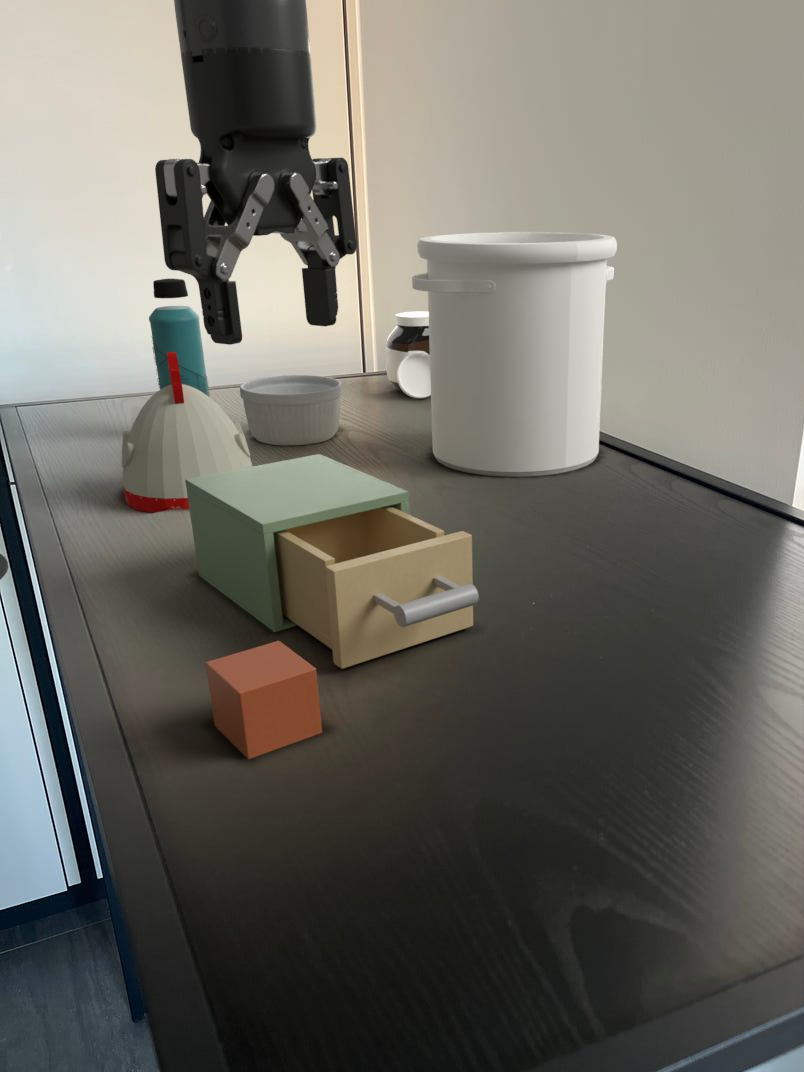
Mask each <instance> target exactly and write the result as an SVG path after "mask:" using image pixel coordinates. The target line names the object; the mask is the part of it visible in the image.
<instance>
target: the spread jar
mask: <svg viewBox="0 0 804 1072" xmlns="http://www.w3.org/2000/svg"><path fill="white" fill-rule="evenodd" d="M395 324H396V326H395V328H393V330H392V331H391V332H390V333H389V335H388V337H387V339H386V343H385V367H386V376H387V378H388V381H389V383H390V384H391V385H392V386H393V387H394V388H395V389H396V390H397V391H399V392H401V393H403V394H406V395H407V396H409V397H411V398H413V399H419V400H420V399H425V398H429V397H431V378H430V345H429V312H428V311H405V312H398V313H396V314H395Z"/></svg>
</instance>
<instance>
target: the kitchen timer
mask: <svg viewBox="0 0 804 1072" xmlns="http://www.w3.org/2000/svg"><path fill="white" fill-rule="evenodd" d="M167 359H168V367H169V374H170V380H171V385H169V386H166V387H164V388H162V389H161V390H160V389H158V391H156V392H155V393H154V394H153V395H152V396H150V397H149V399H147V400H146V402H145V403H144V404H143V406H142V407H141V409H140V410H139V412H138V414H137V416H136V417H135V420H134V421H133V423H132V426H131V429H130V431H127V430H125V431H123V432H122V433H123V434H122V443H121V467H122V468H121V469H122V487H123V492H124V498H125V502H126V504H127V505H128V507H130V508H132V509H134V510H137V511H141V512H145V513H151V514H156V513H161V512H165V511H170V510H190V509H189V503H188V496H187V488H186V483H185V479H189V478H195V477H200V476H205V475H211V474H216V473H221V472H227V471H232V470H237V469H243V468H248V467H253V466H254V465H253V462H252V460H251V453H250V449H249V446H248V442H247V440H246V436H245V434H244V430H243V428H242V426H241V424H240V423H239V422H238V421H235V422H233V421H232V420H231V418H230V417H229V415H228V414H227V413H226V412H225V411H224V409H223V408H222V407H221V406H220V405H219V404H218V403H217V402H216V401H215V400H214V399H212V398H211V396H210V397H208V396H207V395H206V394H204V393H203V392H201V391H199V390H197V389H195V388H193V387H191V386H188V385H184V384H182V383H181V378H180V370H179V366H178V359H177V355H176V352H169V353H167Z"/></svg>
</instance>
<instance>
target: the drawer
mask: <svg viewBox="0 0 804 1072" xmlns="http://www.w3.org/2000/svg"><path fill="white" fill-rule="evenodd" d="M273 535H274V544H275V553H276V563H277V572H278V581H279V590H280V599H281V608H282V614H283V615H284V616H286V617H287V618H289V619H290V620H291V621H293V622H294V623H296V624H297V626H298V627H300V628H301V629H302V630H304V631H305V632H307V633H308V634H310V635H311V636H313V638H315V639H316V640H318V641H320V642H321V643H322V644H324V645H325V646H326V647H327V648H329V649H331V650H332V661H333V662H332V663H333V664H334V665H335V666H336V667H338V668H340V669H341V670H342V669H346V668H349V667H352V666H355V665H359V664H361V663H364V662H367V661H370V660H373V659H377V658H379V657H382V656H386V655H389V654H391V653H395V652H397V651H400V650H404V649H407V648H410V647H413V646H416V645H420V644H423V643H425V642H429V641H431V640H435V639H438V638H441V637H443V636H447V635H450V634H453V633H456V632H459V631H462V630H464V629H468V628H472V627H474V606H475V605H477V604H478V603H479V600H480V595H479V591H478V589H477V588H476V586H475V585H474V584H473V582H474V581H473V578H474V577H473V575H474V574H473V535H472V534H470V533H468V532H467V531H464V530H460V531H457V532H452V533H450V534H446V535H445V530H444V529H441V528H440V527H437V526H435V525H432V524H431V523H428V522H426V521H424V520H422V519H419V518H417V517H415V516H413V515H411V514H410V513H409V514H406V513H404V512H402V511H400V510H398V509H395V508H393V507H391V506H385V507H381V508H377V509H372V510H368V511H364V512H359V513H355V514H351V515H346V516H342V517H338V518H333V519H329V520H325V521H320V522H316V523H312V524H307V525H303V526H299V527H294V528H290V529H286V530H281V531H277V532H273Z"/></svg>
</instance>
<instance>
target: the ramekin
mask: <svg viewBox="0 0 804 1072" xmlns="http://www.w3.org/2000/svg"><path fill="white" fill-rule="evenodd" d="M343 391H344V390H343V384H342V382H341V380H339V379H338V378H333V377H329V376H325V375H324V376H323V375H316V374H315V375H313V374H312V375H311V374H285V375H282V374H281V375H272V376H264V377H258V378H254V379H251V380H247V381H244V382H242V383H241V384H240V386H239V396H240V398H241V399H242V402H243V409H244V412H245V416H246V421H247V425H248V426H247V427H248V429H249V431H250V433H251V435H252V437H254V439H255V440H256V441H258V442H260V443H263V444H268V445H272V446H305V445H306V446H307V445H313V444H318V443H323V442H327V441H328V440H330V439H332V438H333V437H334V436H335V434H336V433H337V432H338V430H339V427H340V419H341V417H340V416H341V402H342V401H341V398H342V397H341V396H342V395H343V393H344V392H343Z"/></svg>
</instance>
